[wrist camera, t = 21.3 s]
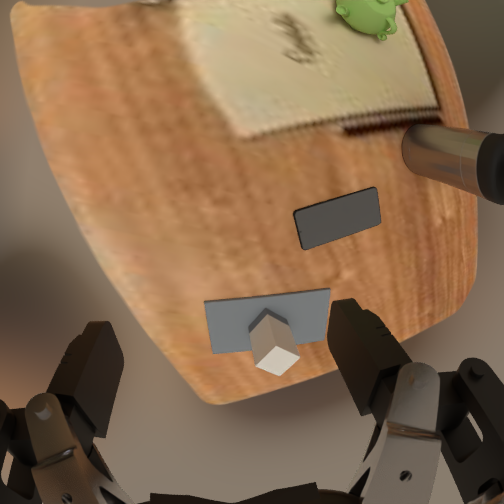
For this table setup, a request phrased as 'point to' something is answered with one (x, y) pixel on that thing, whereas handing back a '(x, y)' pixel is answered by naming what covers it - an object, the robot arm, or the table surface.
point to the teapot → (370, 15)
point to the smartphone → (337, 217)
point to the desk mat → (248, 308)
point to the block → (272, 343)
